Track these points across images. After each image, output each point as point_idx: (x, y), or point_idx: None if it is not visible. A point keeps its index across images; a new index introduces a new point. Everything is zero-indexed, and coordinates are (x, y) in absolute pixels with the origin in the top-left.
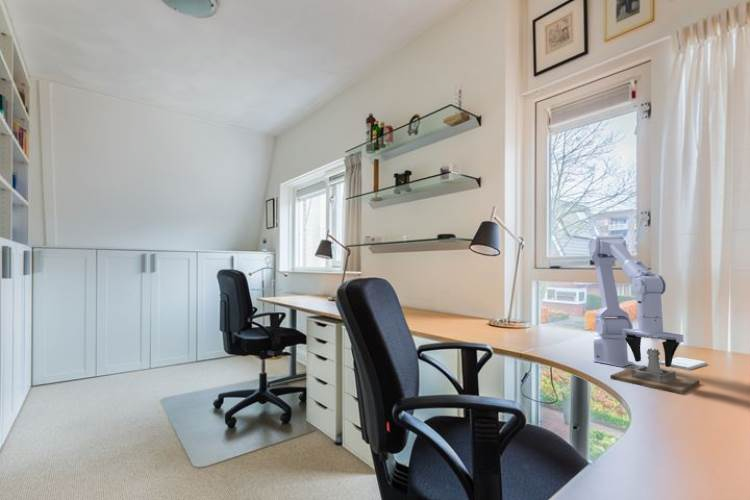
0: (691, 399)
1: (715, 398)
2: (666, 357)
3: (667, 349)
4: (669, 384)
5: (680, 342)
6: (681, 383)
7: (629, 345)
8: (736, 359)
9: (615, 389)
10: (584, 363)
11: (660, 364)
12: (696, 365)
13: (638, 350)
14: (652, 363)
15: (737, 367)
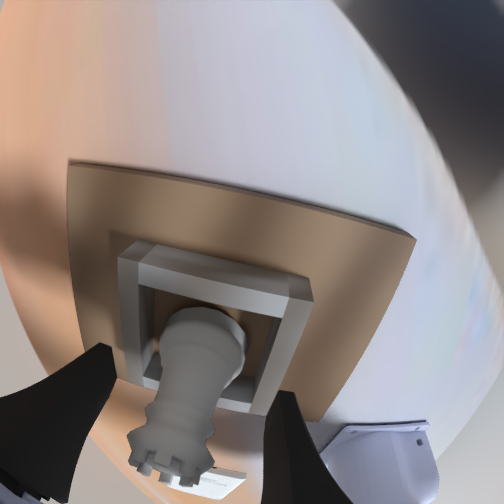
0: (51, 117)
1: (17, 201)
2: (65, 378)
3: (14, 410)
4: (119, 238)
5: None
6: (96, 290)
7: (340, 491)
8: (151, 495)
9: (349, 23)
10: (460, 390)
11: (243, 473)
12: None
13: (272, 472)
14: (185, 379)
15: (126, 472)
